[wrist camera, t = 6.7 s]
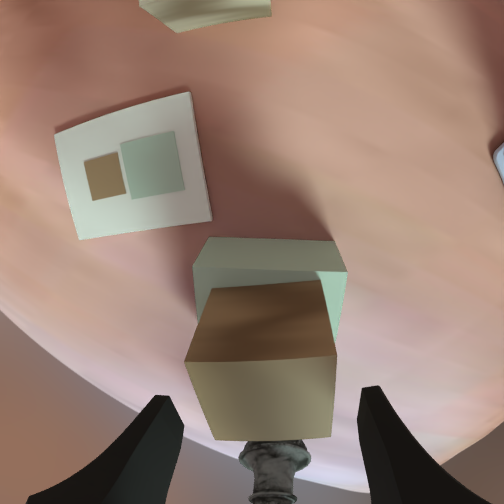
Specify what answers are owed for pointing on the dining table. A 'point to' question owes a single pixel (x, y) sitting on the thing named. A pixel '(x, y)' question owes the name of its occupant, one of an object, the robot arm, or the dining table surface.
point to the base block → (270, 268)
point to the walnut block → (265, 362)
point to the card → (135, 169)
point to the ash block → (204, 12)
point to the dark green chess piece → (274, 469)
